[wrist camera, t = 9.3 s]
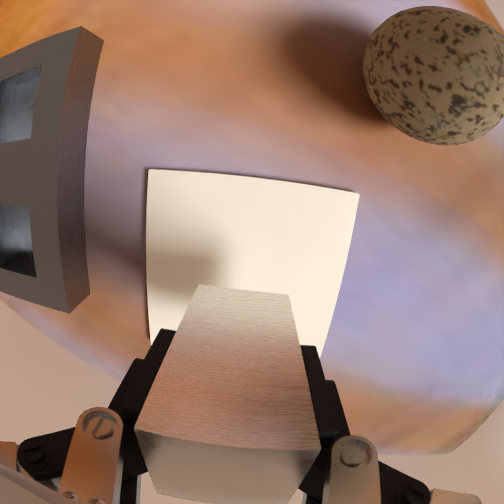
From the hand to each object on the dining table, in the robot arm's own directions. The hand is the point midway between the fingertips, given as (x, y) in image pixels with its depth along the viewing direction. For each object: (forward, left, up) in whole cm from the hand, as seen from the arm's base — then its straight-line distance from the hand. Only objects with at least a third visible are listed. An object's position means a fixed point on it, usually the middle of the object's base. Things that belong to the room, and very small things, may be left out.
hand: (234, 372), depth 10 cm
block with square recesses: (-6, -16, -8) cm, 19 cm away
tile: (0, 0, -8) cm, 8 cm away
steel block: (0, 0, -3) cm, 3 cm away
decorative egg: (-13, +8, -8) cm, 18 cm away
